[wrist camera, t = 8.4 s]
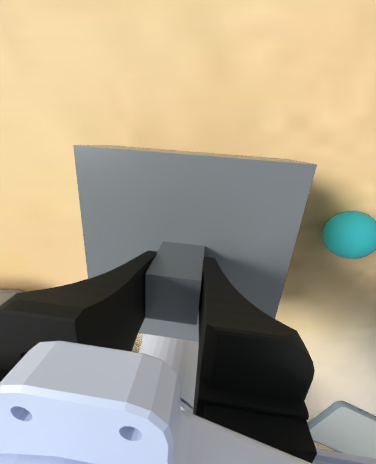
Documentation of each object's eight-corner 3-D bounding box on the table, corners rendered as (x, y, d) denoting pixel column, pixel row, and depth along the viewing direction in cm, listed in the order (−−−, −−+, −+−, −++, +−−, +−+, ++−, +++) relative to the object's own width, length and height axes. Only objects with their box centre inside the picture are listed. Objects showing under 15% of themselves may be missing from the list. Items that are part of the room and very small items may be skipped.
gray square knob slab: (254, 304, 19) (280, 409, 12) (120, 286, 20) (62, 373, 13) (286, 159, 15) (363, 173, 7) (113, 145, 16) (17, 145, 8)
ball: (354, 249, 21) (381, 270, 17) (310, 243, 22) (327, 263, 18) (370, 208, 20) (403, 222, 16) (322, 203, 20) (344, 216, 16)
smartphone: (387, 474, 32) (299, 435, 31) (382, 465, 33) (297, 427, 32) (436, 447, 29) (341, 403, 28) (429, 438, 30) (337, 395, 29)
